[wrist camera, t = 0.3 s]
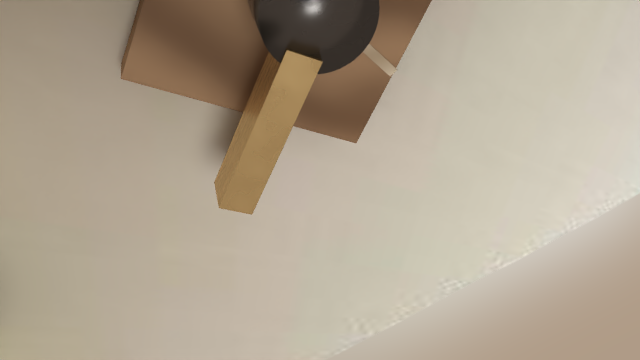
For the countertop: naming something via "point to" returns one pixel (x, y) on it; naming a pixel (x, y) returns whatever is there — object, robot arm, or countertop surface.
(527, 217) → the countertop surface
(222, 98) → the base
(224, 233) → the countertop surface
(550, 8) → the countertop surface
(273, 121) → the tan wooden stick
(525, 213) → the countertop surface
